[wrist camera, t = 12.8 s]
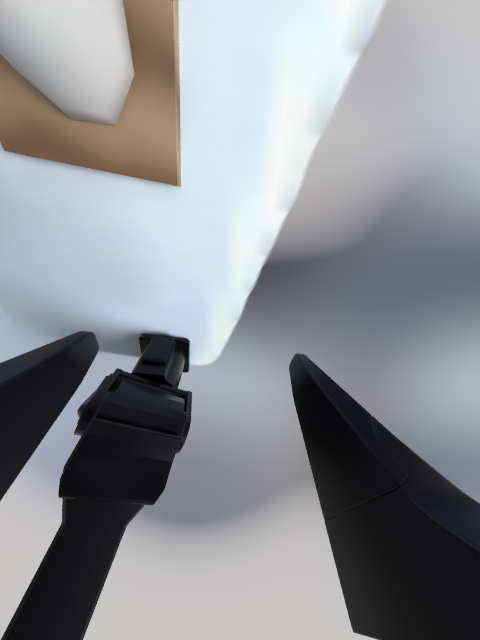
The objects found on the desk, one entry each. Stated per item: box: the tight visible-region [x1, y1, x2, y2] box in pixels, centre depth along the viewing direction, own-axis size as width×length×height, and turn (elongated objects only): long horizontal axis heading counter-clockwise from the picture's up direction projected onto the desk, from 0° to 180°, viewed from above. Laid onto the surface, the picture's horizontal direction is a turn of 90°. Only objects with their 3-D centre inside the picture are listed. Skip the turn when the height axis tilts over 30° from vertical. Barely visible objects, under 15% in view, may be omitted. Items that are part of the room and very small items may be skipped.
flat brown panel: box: [0, 0, 181, 186], centre depth 11 cm, size 12×12×2 cm
